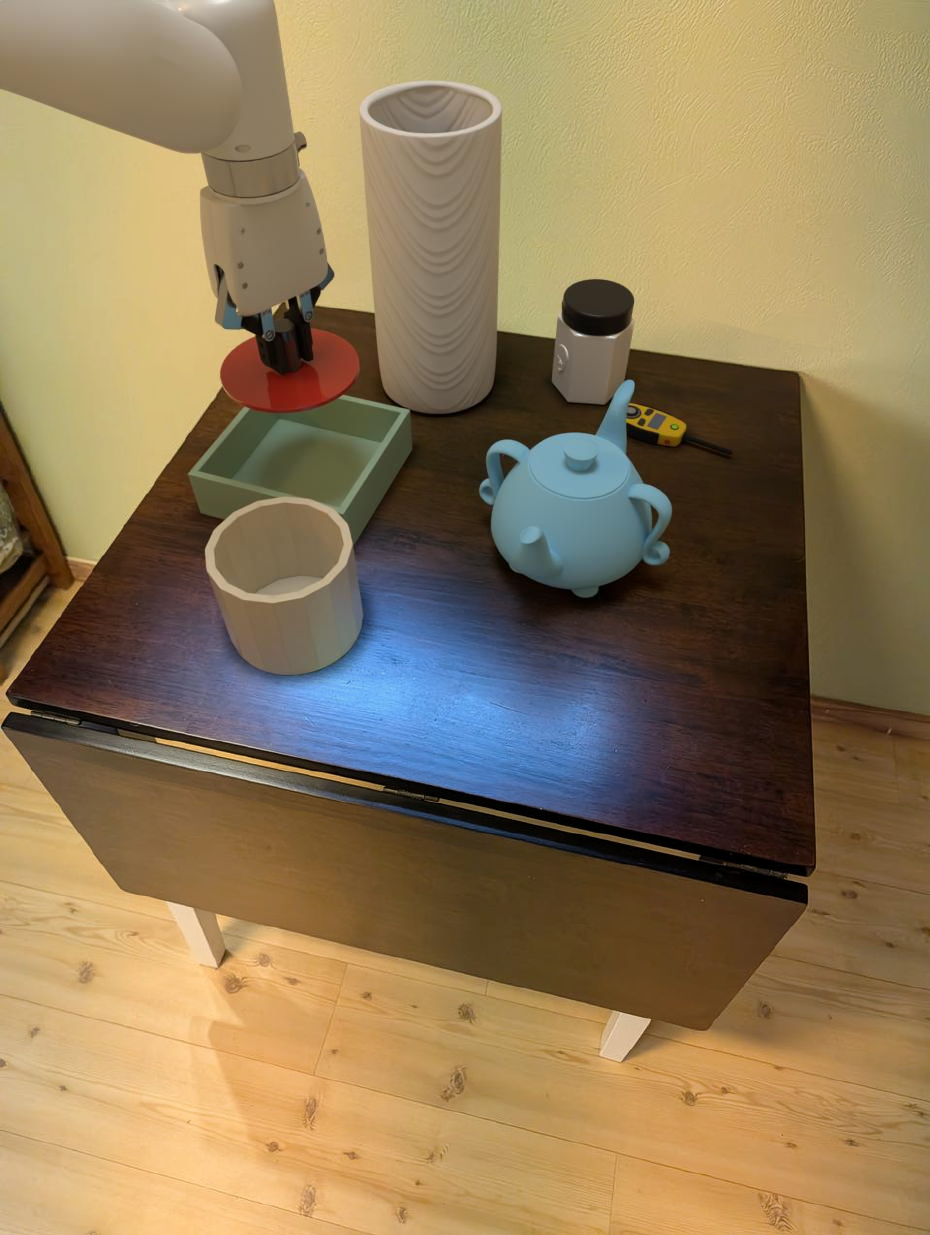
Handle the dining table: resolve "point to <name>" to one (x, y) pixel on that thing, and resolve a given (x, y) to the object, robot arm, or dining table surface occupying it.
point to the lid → (290, 373)
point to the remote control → (660, 428)
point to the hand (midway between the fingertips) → (288, 360)
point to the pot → (286, 584)
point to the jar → (593, 341)
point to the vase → (434, 239)
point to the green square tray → (306, 459)
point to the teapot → (576, 506)
